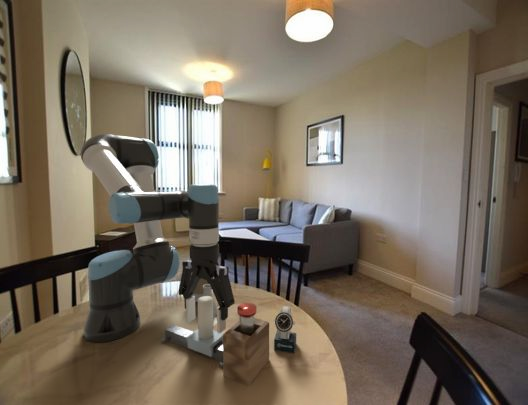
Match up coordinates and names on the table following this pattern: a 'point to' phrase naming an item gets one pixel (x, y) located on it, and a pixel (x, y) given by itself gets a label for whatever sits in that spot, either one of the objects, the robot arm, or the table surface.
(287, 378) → the table surface
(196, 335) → the carriage
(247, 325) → the button plunger
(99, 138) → the robot arm
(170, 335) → the rail
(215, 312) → the flask
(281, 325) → the watch
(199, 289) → the coffee cup
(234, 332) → the wooden button housing
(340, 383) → the table surface
